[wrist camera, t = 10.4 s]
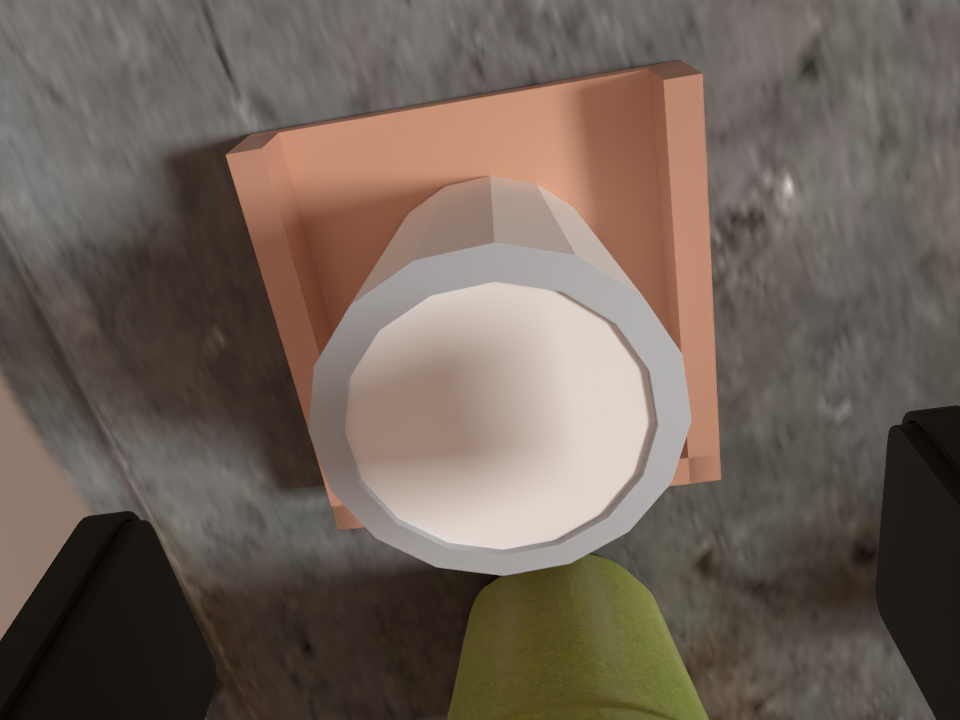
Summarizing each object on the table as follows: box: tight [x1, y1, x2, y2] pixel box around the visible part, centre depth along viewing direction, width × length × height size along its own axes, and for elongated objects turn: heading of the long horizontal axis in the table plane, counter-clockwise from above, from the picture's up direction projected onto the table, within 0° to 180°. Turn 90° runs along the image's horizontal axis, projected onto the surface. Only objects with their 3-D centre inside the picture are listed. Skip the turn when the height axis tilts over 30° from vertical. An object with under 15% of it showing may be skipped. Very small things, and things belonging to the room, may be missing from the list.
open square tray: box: [226, 60, 721, 530], centre depth 21 cm, size 10×10×2 cm
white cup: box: [308, 176, 692, 576], centre depth 18 cm, size 7×7×7 cm
